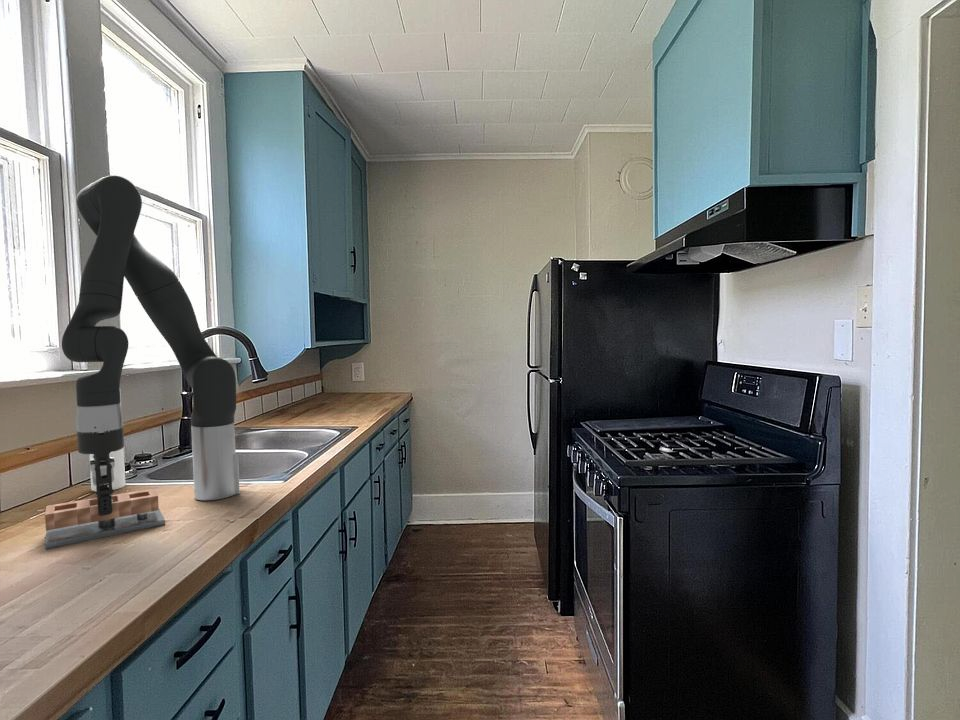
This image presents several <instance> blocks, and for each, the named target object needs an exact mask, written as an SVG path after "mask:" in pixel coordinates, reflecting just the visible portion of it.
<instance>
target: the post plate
mask: <svg viewBox="0 0 960 720" xmlns="http://www.w3.org/2000/svg"><path fill="white" fill-rule="evenodd" d="M112 502H114V501H113V499H112ZM97 505H98V504H97ZM164 525H166V519H165V517H164V515H163V514H162V512H161V510H160V508H159V510H157V511H151V512H146V513H140V514H135V515H129V516H124V517H118V518H113V519H107V520H102V521H96V522H91V523H85V524H80V525H74V526H69V527H63V528H58V529H52V530H47V531H46V530H45V533H46V534H45V543H44V548H45V549H52V548H57V547H62V546H66V545H70V544H76V543H80V542H87V541H91V540H95V539H101V538H105V537H111V536H115V535H121V534H125V533H130V532H136V531H140V530H144V529H149V528H154V527H159V526H164Z"/></svg>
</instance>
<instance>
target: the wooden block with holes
mask: <svg viewBox="0 0 960 720" xmlns="http://www.w3.org/2000/svg"><path fill="white" fill-rule="evenodd" d="M111 498H112V499H113V501H114V502H112V513H111V514H109V515H103V516H99V514H98V505H97V504H98V498H97V497H94V498H93V497H92V498H86V499H80V500H75V501H74V500H73V501H68V502H62V503H57V504H50V505H46V508H45V512H44V513H45V514H44V516H45V517H44V518H45V519H44V522H45V523H44V524H45V532H46V531H47V530H52V529H58V528H63V527H69V526H74V525H80V524H85V523H91V522H96V521H102V520H107V519H113V518H118V517H124V516H129V515H135V514H140V513H146V512H151V511H157V510H159V509H160V508H159V494H158V493H157V490H156V489H155V488H150V489H143V490H136V491H130V492H124V493H118V494H112V495H111Z"/></svg>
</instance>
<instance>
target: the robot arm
mask: <svg viewBox="0 0 960 720" xmlns="http://www.w3.org/2000/svg"><path fill="white" fill-rule="evenodd" d="M142 199H143V198H142V196H141V193H140V191H139V189H138V188H137V186H136V185H135V184H134V183H133V182H132V181H130V180H129V179H128V178H125V177H123V176H120V175H114V174H113V175H112V174H111V175H107V176H103V177H101V178H99V179H96V180H95V181H94V182H91V183H90V184H88V185H87V186H85V187H83V188H82V189H80V191H78V193H77V195H76V205H77V208H78V211H79V213H80V215H81V216H82V218H83V219H84V221H85V222H86V224H87V225H88V226H89V228H90V229H91V231H92V232H93V234H94V235H95V236H96V239H95V242H94V244H93V246H92V249H91V251H90V252H89V255H88V258H87V260H86V263H85V265H84V268H83V271H82V274H81V278H80V287H79V294H78V301H77V305H76V308H75V310H74V311H73V314H72V317H71V318H70V320H69V323H68V324H67V326H66V328H65V330H64V333H63V335H62V339H61V349H62V352H63V354H64V356H65V357H66V358H67V359H68V360H69V361H71V362H74V363H103V364H102V366H101V368H100V370H99V371H97V372H94V373H89V374H85V375H81V376H80V377H78V378H77V379H76V381H75V382H76V383H75V390H76V415H75V423H76V425H75V426H76V439H77V441H76V442H77V451H78V453H79V454H81V455H89V454H94V455H93V458H94V460H90V459H89V468H90V469H89V471H90V470H91V472H92V479H93V485H94V486H96V491H97V492H96V491H95V496H96V498H98V514H99V516H103V515H109V514H111V513H112V498H111V495H113V493H114V490H113V489H112V483H114V468H115V461H114V457H113V458H109V454H110V452H112V451H118V450H121V449H122V448H124V447H125V437H124V436H125V434H124V415H123V414H124V413H123V410H122V402H121V403H120V393H121V379H122V373H123V368H124V364H125V360H126V357H127V354H128V350H129V338H128V336H127V333H126V332H125V331H124V330H123V329H122V328H121V327H118V326H113V325H109V326H108V325H107V326H106V325H103V326H101V325H99V326H98V325H97V324H98V323H99V322H101V321H105V320H107V319H108V320H109V319H112V318H115V317H117V316H119V315H120V314H121V310H122V302H123V293H124V280H126V281H127V283H128V284H129V286H130V288H131V289H132V291H133V293H134V295H135V297H137V300H138V302H139V304H140V306H141V307H142V309H143V310H144V312H145V313H146V314H147V316H148V317H149V319H150V320H151V322H152V323H153V325H154V327H156V329H157V330H158V332H159V333H160V335H161V336H162V338H163V339H164V340H165V341H166V342H167V344H168V345H169V346H170V348H171V350H172V352H173V354H174V356H175V357H176V360H177V362H178V364H179V366H180V368H181V370H182V373H183V375H184V377H185V380H186V381H187V384H188V386H189V387H190V388H191V389H192V404H193V405H192V413H191V414H190V425H191V427H190V428H191V429H190V432H191V433H190V434H191V449H192V450H191V451H192V452H191V453H192V469H193V470H192V471H193V474H192V475H193V491H194V494H193V496H194V499H195V500H198V501H216V500H222V499H226V498H229V497H232V496H235V495H239V494H240V492H241V491H240V474H239V473H240V470H239V455H238V454H237V453H236V451H237V450H236V435H235V434H236V431H235V428H236V427H235V414H236V410H237V378H236V372H235V369H234V367H233V365H232V364H231V363H230V362H229V361H228V360H226V359H225V358H222V357H218V356H217V355H216V353H215V351H214V350H213V349H212V348H211V347H210V345H209V343H208V342H207V340H206V339H205V337H204V335H203V334H202V332H201V331H202V330H201V329H200V325H199V323H198V320H197V319H198V318H197V316H196V314H195V313H196V312H195V310H194V307H193V304H192V302H191V300H190V297H189V296H188V294H187V292H186V289H184V287H183V285H182V283H181V282H180V280H179V278H178V276H177V275H176V273H175V272H174V271H173V270H172V269H171V268H170V267H168V266H167V265H166V264H165V263H164V262H163V261H162V260H160V259H158V257H156V256H155V255H153V254H152V253H151V252H150V251H148V250H147V249H146V248H145V247H144V245H142V244H141V242H140V241H139V240H138V238H137V236H136V235H135V231H136V227H137V224H138V221H139V218H140V215H141V212H142V211H141V210H142V208H143V207H142V206H143V200H142ZM96 325H97V326H96Z"/></svg>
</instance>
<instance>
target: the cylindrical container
mask: <svg viewBox="0 0 960 720" xmlns="http://www.w3.org/2000/svg"><path fill="white" fill-rule="evenodd" d="M121 395H122V394H121V392H120V403H121V404H122V397H121ZM88 455H89V461H90V460H94V458H93V455H94V454H88ZM113 457H114V461H115V468H114V483H112V489H113V491H114V490H118V489H121V488H124V487H126V471H125V469H126V468H125V450H124V447H123V448H122V449H121V450H118V451H112V452H110V454H109V458H113ZM89 471H90V487H91V488H90V491H92V492H95V493H96V492H97V491H96V486H94V485H93V479H92V472H91V470H90V469H89Z"/></svg>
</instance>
